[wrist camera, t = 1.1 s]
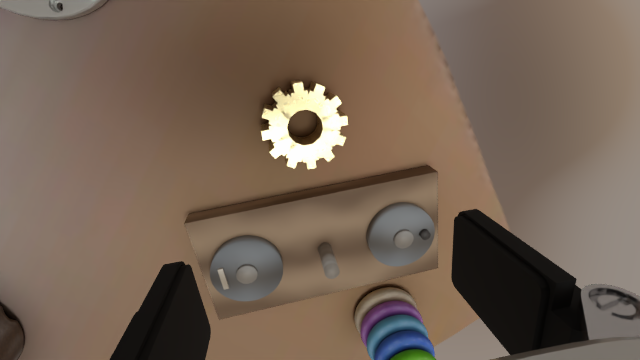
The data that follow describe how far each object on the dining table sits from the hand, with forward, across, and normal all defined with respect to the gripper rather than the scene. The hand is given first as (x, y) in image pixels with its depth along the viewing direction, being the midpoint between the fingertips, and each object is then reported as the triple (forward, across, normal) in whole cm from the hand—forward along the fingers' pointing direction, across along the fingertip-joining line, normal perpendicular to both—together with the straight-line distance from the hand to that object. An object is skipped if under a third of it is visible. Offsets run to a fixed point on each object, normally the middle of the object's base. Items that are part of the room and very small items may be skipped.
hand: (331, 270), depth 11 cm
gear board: (+20, -2, +11) cm, 23 cm away
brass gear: (+20, -1, -2) cm, 20 cm away
